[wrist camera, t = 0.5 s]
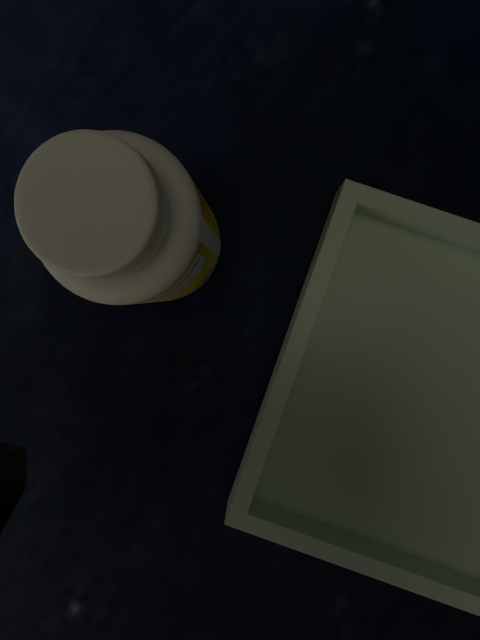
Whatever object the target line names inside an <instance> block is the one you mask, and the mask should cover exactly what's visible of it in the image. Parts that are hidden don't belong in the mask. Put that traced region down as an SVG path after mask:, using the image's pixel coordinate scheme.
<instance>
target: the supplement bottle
mask: <svg viewBox="0 0 480 640" xmlns="http://www.w3.org/2000/svg"><path fill="white" fill-rule="evenodd" d="M14 209H15V217H16V221H17V225H18V228H19V230H20V233H21V235H22V237H23V239H24V241H25V242H26V244H27V245H28V247H29V248H30V249H31V251H32V252H33V253H34V254H35V255H36V256H37V257H38V258H39V259H40V260H41V261H42V262H43V264H44V265H45V267H46V268H47V270H48V271H49V272H50V273H51V274H52V276H53V277H54V278H55V279H56V280H57V281H58V282H59V283H61V284H62V285H63V286H64V287H66V288H67V289H68V290H70V291H71V292H73V293H75V294H76V295H78V296H81V297H83V298H85V299H87V300H90V301H93V302H97V303H102V304H110V305H129V304H140V303H150V302H161V301H171V300H176V299H180V298H182V297H185V296H187V295H189V294H191V293H193V292H195V291H196V290H198V289H199V288H200V287H201V286H202V285H203V284H204V283H205V282H206V281H207V280H208V279H209V277H210V276H211V274H212V273H213V271H214V269H215V267H216V265H217V262H218V259H219V255H220V249H221V237H220V230H219V226H218V223H217V221H216V218H215V216H214V214H213V212H212V211H211V209H210V207H209V206H208V204H207V203H206V201H205V199H204V198H203V196H202V195H201V193H200V191H199V190H198V188H197V186H196V185H195V183H194V182H193V180H192V178H191V177H190V175H189V174H188V172H187V170H186V169H185V168H184V167H183V165H182V164H181V163H180V162H179V160H178V159H177V158H176V157H175V156H174V155H173V154H172V153H171V152H170V151H168V150H167V149H166V148H165V147H164V146H162V145H160V144H159V143H157V142H156V141H154V140H152V139H149V138H147V137H145V136H142V135H140V134H137V133H133V132H128V131H119V130H107V131H97V130H88V129H83V130H73V131H68V132H65V133H62V134H59V135H57V136H54V137H53V138H51V139H49V140H48V141H46V142H45V143H43V144H42V145H41V146H39V147H38V148H37V149H36V150H35V151H34V152H33V153H32V154H31V156H30V157H29V158H28V160H27V161H26V163H25V164H24V166H23V168H22V170H21V172H20V175H19V177H18V180H17V184H16V188H15V194H14Z"/></svg>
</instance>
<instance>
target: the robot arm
mask: <svg viewBox="0 0 480 640" xmlns="http://www.w3.org/2000/svg"><path fill="white" fill-rule="evenodd" d="M25 486H26V450H25V448H24V447H22V446H18V445H14V444H9V443H1V444H0V533H1V532H2V530H3V528H4V526H5V524H6V523H7V521H8V519H9V517H10V515H11V514H12V512H13V510H14V508H15V506H16V505H17V503H18V501H19V499H20V497H21V496H22V494H23V492H24V489H25Z"/></svg>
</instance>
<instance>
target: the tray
mask: <svg viewBox="0 0 480 640" xmlns="http://www.w3.org/2000/svg"><path fill="white" fill-rule="evenodd" d="M224 524H225V525H227V526H230V527H233V528H236V529H239V530H241V531H244V532H247V533H250V534H253V535H255V536H258V537H261V538H264V539H266V540H269V541H272V542H275V543H278V544H280V545H283V546H286V547H289V548H291V549H294V550H297V551H300V552H303V553H305V554H308V555H311V556H314V557H317V558H319V559H322V560H325V561H328V562H330V563H333V564H336V565H339V566H342V567H344V568H347V569H350V570H353V571H355V572H358V573H361V574H364V575H367V576H369V577H372V578H375V579H378V580H381V581H383V582H386V583H389V584H392V585H394V586H397V587H400V588H403V589H406V590H408V591H411V592H414V593H417V594H420V595H422V596H425V597H428V598H431V599H433V600H436V601H439V602H442V603H445V604H447V605H450V606H453V607H456V608H458V609H461V610H464V611H467V612H470V613H472V614H475V615H478V616H480V223H477V222H474V221H471V220H468V219H465V218H462V217H459V216H456V215H453V214H450V213H447V212H444V211H441V210H438V209H435V208H432V207H429V206H426V205H423V204H420V203H417V202H414V201H411V200H408V199H405V198H402V197H399V196H396V195H393V194H390V193H387V192H384V191H381V190H378V189H375V188H372V187H369V186H366V185H363V184H360V183H357V182H354V181H351V180H348V179H345V181H344V182H343V183H342V185H341V186H340V187H339V189H338V190H337V192H336V194H335V197H334V200H333V203H332V205H331V208H330V211H329V214H328V217H327V220H326V222H325V225H324V228H323V231H322V234H321V237H320V240H319V242H318V245H317V248H316V251H315V254H314V257H313V259H312V262H311V265H310V268H309V271H308V274H307V276H306V279H305V282H304V285H303V288H302V291H301V294H300V296H299V299H298V302H297V305H296V308H295V311H294V313H293V316H292V319H291V322H290V325H289V328H288V331H287V333H286V336H285V339H284V342H283V345H282V348H281V350H280V353H279V356H278V359H277V362H276V365H275V368H274V370H273V373H272V376H271V379H270V382H269V385H268V387H267V390H266V393H265V396H264V399H263V402H262V404H261V407H260V410H259V413H258V416H257V419H256V422H255V424H254V427H253V430H252V433H251V436H250V439H249V441H248V444H247V447H246V450H245V453H244V456H243V459H242V461H241V464H240V467H239V470H238V473H237V476H236V478H235V481H234V484H233V487H232V490H231V493H230V495H229V498H228V503H227V509H226V516H225V522H224Z"/></svg>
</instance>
